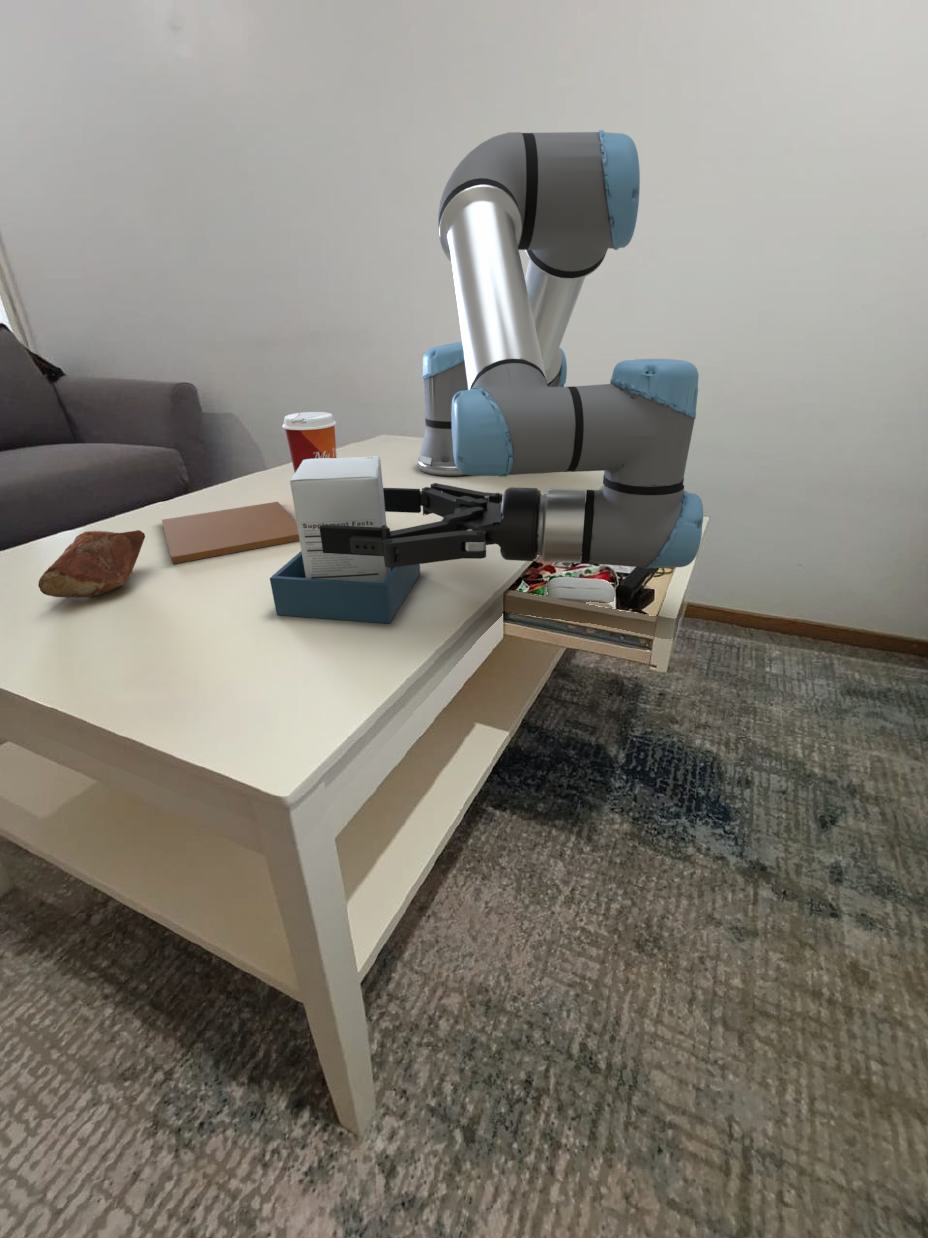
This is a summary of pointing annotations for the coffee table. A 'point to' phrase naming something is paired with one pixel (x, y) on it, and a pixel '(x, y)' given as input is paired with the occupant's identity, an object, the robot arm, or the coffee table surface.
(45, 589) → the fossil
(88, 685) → the coffee table surface
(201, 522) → the cork mat
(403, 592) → the crate
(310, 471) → the white product box
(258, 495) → the coffee table surface
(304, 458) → the coffee cup
